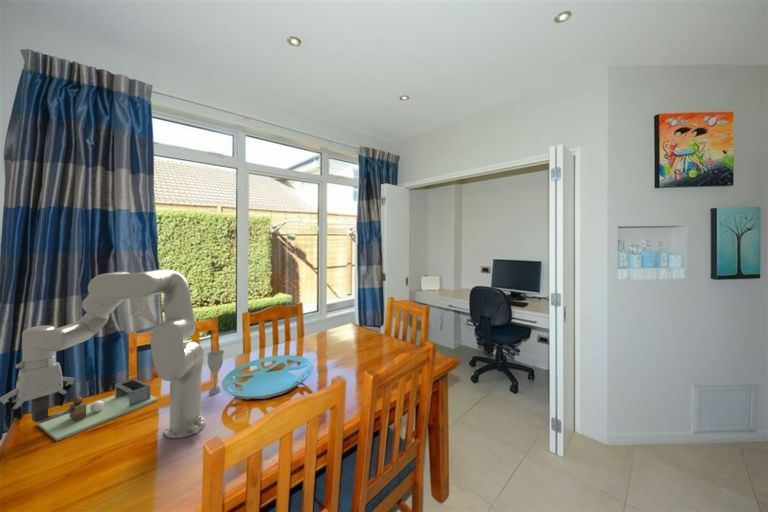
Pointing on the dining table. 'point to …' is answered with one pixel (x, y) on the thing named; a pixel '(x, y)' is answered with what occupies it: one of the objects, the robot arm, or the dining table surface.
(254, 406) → the dining table surface
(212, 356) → the chalice
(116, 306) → the robot arm
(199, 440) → the dining table surface
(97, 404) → the ball
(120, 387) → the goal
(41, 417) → the striker
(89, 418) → the plate
